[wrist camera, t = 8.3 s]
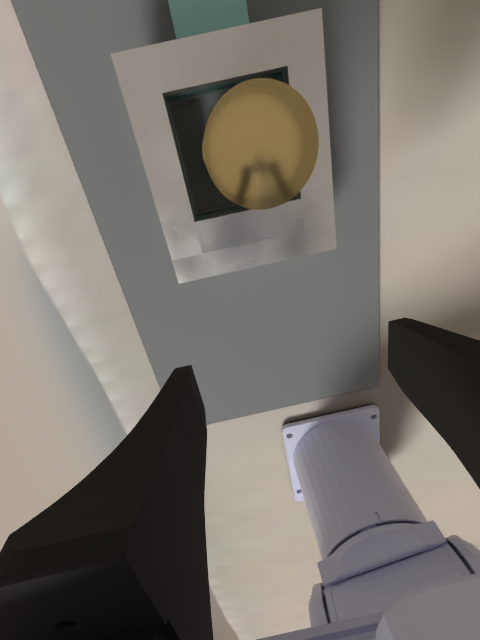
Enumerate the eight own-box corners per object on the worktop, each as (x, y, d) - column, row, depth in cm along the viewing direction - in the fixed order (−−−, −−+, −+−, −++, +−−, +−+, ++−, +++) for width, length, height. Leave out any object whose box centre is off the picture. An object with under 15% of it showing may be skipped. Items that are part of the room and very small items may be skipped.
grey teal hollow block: (313, 232, 20) (336, 248, 16) (182, 261, 20) (178, 283, 16) (286, -64, 14) (313, -133, 11) (101, -24, 14) (70, -82, 11)
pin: (263, 175, 18) (323, 196, 9) (209, 187, 18) (217, 220, 9) (253, 111, 17) (313, 65, 8) (195, 124, 17) (189, 93, 8)
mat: (376, 382, 26) (379, 386, 26) (177, 426, 26) (176, 431, 26) (372, -92, 14) (378, -100, 14) (9, -14, 14) (3, -20, 14)
